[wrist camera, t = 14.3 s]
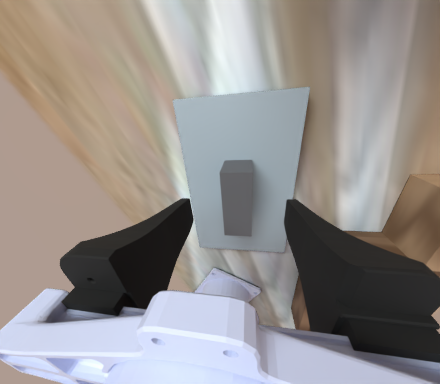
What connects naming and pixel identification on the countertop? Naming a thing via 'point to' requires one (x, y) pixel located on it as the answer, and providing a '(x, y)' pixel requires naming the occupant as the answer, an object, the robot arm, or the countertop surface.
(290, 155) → the lid
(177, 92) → the countertop surface
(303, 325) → the brown angular frame
